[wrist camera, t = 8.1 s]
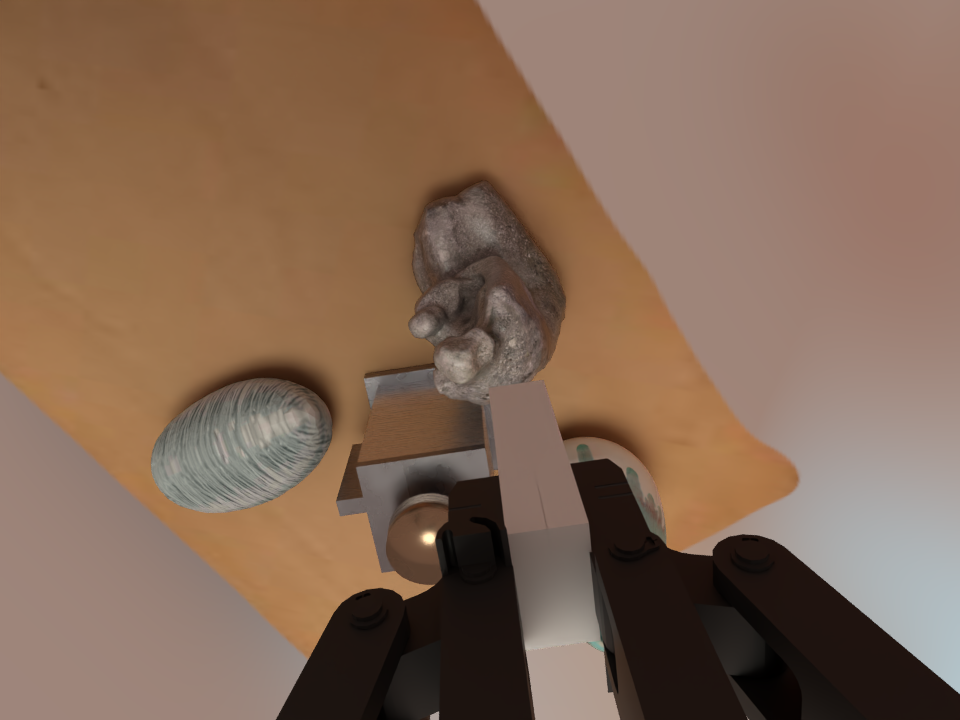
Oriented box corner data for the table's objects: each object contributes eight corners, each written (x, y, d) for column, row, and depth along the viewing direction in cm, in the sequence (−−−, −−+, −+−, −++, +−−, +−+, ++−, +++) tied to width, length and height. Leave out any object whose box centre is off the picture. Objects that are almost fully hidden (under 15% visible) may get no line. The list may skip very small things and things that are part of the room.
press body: (347, 376, 55) (314, 460, 42) (487, 355, 54) (497, 433, 42) (372, 481, 58) (349, 588, 46) (503, 462, 58) (517, 564, 45)
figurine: (420, 169, 49) (403, 206, 32) (578, 190, 50) (640, 235, 33) (405, 339, 54) (382, 448, 37) (549, 355, 55) (591, 468, 38)
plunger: (392, 418, 51) (373, 516, 39) (465, 407, 51) (469, 502, 39) (406, 481, 53) (392, 593, 41) (476, 471, 53) (482, 580, 41)
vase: (663, 501, 60) (743, 656, 43) (546, 553, 62) (580, 722, 45) (611, 396, 56) (677, 522, 40) (488, 455, 58) (501, 600, 41)
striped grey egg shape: (197, 531, 56) (153, 544, 46) (161, 424, 57) (110, 413, 47) (355, 469, 58) (344, 468, 48) (317, 366, 59) (299, 345, 49)
